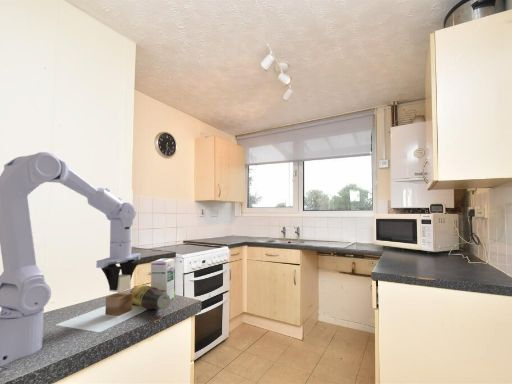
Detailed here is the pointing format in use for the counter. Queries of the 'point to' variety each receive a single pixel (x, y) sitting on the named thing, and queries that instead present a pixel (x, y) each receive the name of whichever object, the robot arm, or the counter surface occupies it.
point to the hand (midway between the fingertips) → (119, 287)
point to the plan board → (100, 319)
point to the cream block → (123, 283)
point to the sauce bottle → (149, 297)
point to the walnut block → (118, 304)
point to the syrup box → (164, 276)
